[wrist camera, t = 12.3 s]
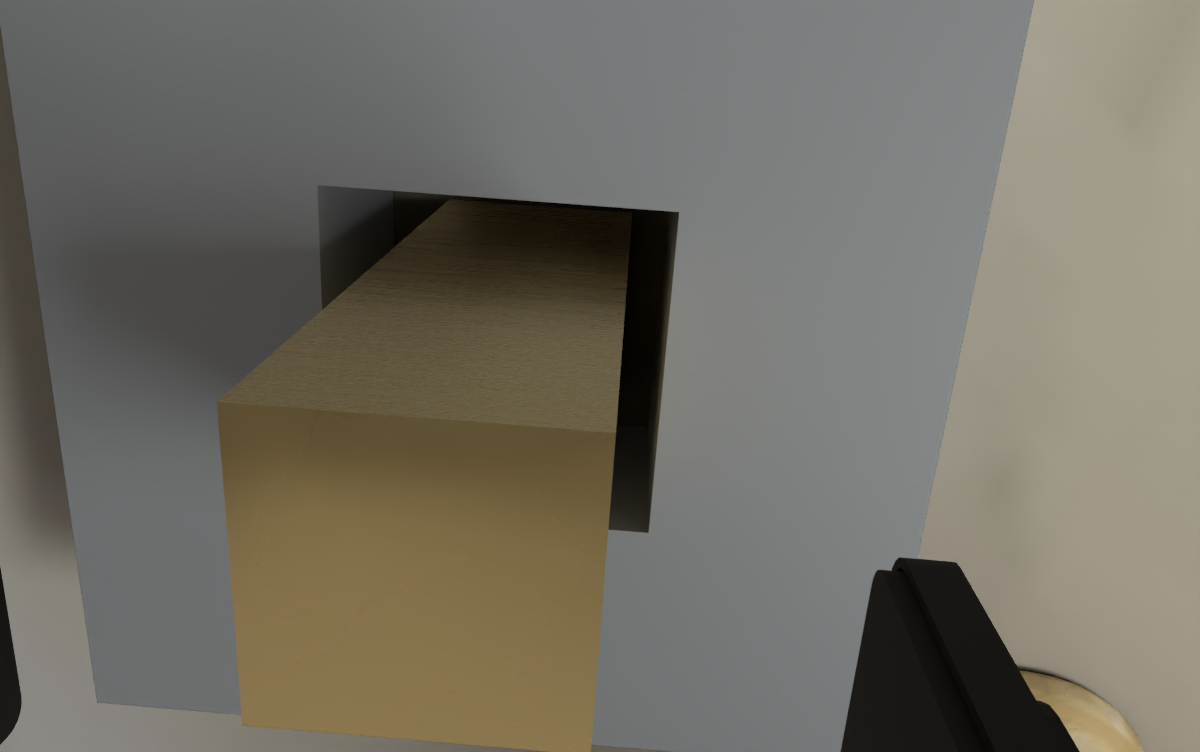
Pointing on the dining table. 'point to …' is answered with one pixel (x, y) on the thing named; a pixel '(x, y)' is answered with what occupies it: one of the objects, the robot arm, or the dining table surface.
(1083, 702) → the hand bell
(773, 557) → the well block
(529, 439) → the wooden square peg
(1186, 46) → the dining table surface
